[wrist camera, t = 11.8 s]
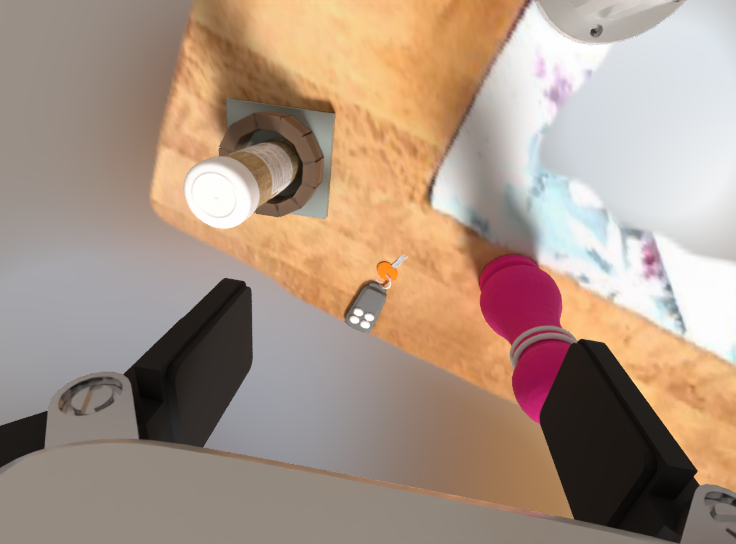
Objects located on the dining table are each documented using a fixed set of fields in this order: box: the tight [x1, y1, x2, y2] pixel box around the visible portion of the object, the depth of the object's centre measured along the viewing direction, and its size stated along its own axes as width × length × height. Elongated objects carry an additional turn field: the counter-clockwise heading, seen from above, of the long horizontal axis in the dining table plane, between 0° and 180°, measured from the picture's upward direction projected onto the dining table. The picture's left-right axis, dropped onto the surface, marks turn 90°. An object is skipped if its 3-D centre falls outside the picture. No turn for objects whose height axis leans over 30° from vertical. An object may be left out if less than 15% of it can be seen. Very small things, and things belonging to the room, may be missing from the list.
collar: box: [219, 99, 335, 219], centre depth 36 cm, size 10×10×4 cm
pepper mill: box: [479, 254, 577, 424], centre depth 31 cm, size 7×7×20 cm
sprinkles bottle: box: [184, 138, 303, 228], centre depth 31 cm, size 5×5×13 cm
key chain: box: [345, 255, 408, 333], centre depth 42 cm, size 13×4×2 cm, turn 156°
